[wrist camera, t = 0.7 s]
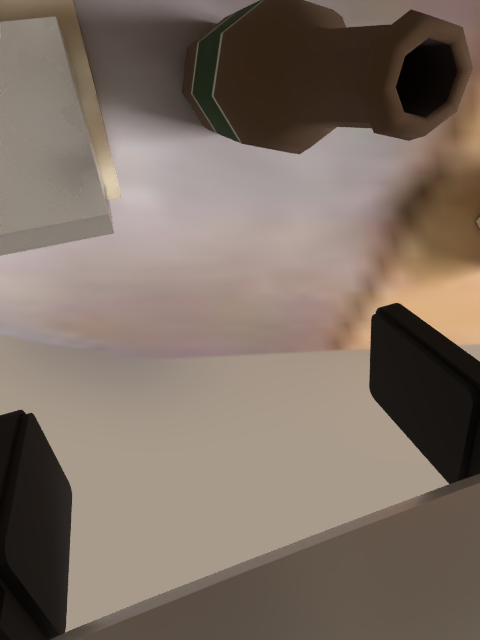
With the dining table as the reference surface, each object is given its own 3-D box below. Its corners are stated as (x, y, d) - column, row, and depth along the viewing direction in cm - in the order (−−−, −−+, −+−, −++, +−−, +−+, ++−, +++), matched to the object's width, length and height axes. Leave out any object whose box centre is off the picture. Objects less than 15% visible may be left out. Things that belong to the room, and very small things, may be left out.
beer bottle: (192, 145, 35) (326, 231, 15) (165, 32, 31) (301, -63, 11) (281, 123, 36) (517, 174, 16) (267, 10, 32) (560, -110, 12)
